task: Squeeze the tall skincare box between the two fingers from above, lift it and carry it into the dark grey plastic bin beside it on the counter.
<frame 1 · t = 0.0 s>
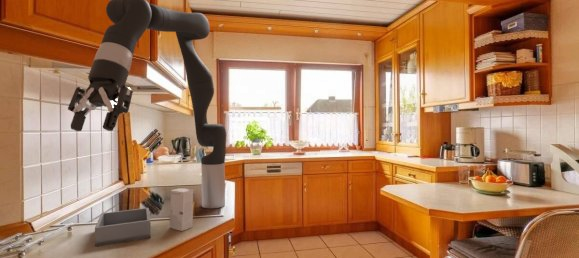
hand: (91, 130, 66), 31 cm above the counter, tool tilted 20°, fingers open, 8 cm apart
skincare box: (181, 228, 95), on the counter
bin: (124, 233, 90), on the counter
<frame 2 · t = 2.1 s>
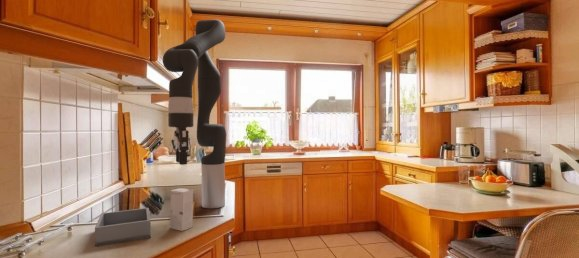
hand: (181, 163, 95), 21 cm above the counter, tool pointing down, fingers open, 8 cm apart
nothing on the counter moved.
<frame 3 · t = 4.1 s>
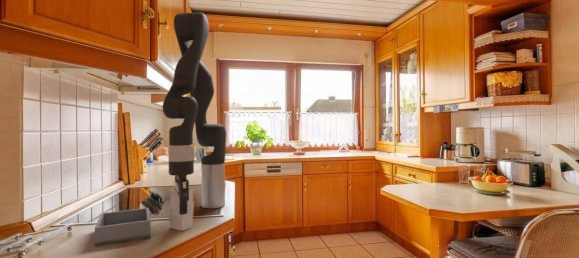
hand: (181, 210, 95), 5 cm above the counter, tool pointing down, fingers closed on skincare box, 7 cm apart
skincare box: (181, 228, 95), on the counter, touching gripper
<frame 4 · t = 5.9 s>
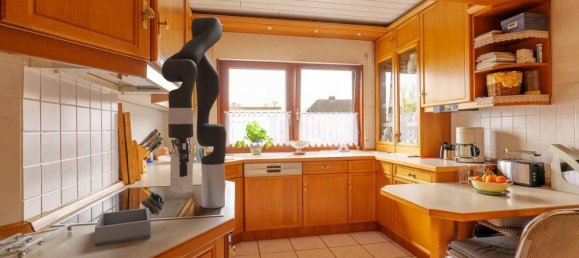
hand: (181, 174, 95), 17 cm above the counter, tool pointing down, fingers closed on skincare box, 7 cm apart
skincare box: (182, 191, 95), point 11 cm above the counter, touching gripper
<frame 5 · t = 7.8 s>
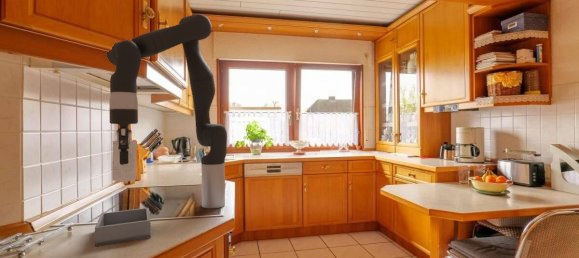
hand: (124, 162, 90), 21 cm above the counter, tool pointing down, fingers closed on skincare box, 7 cm apart
skincare box: (124, 181, 90), point 16 cm above the counter, touching gripper
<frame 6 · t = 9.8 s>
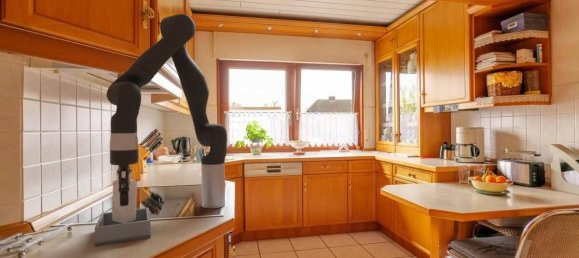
hand: (124, 202, 90), 9 cm above the counter, tool pointing down, fingers closed on skincare box, 7 cm apart
skincare box: (124, 221, 90), point 4 cm above the counter, touching gripper
when the fingers open (8 cm above the counter, at t = 11.3 s): skincare box drops 1 cm, resting on bin.
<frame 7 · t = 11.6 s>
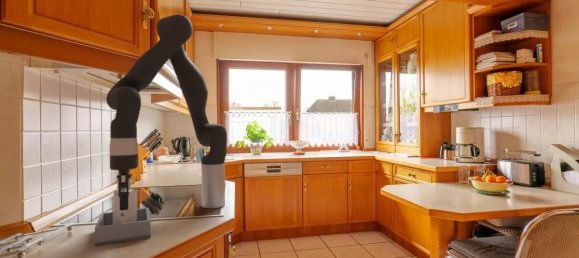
hand: (124, 206, 90), 8 cm above the counter, tool pointing down, fingers open, 8 cm apart
skincare box: (125, 230, 90), point 1 cm above the counter, touching bin
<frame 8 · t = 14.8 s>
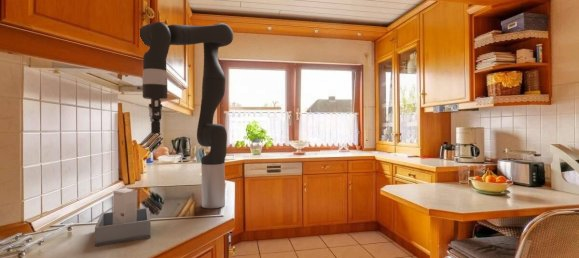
hand: (155, 133, 99), 30 cm above the counter, tool pointing down, fingers open, 8 cm apart
nothing on the counter moved.
at the end: skincare box inside the target area on the bin (0.2 cm from its centre), point 0.8 cm above the bin's base; the gripper is holding nothing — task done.
